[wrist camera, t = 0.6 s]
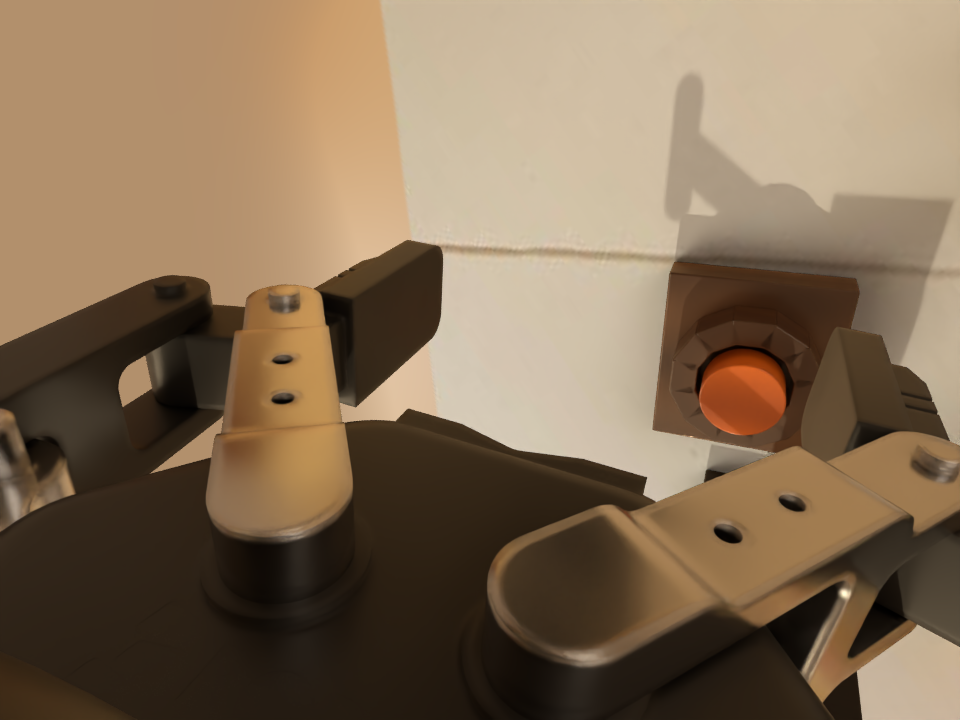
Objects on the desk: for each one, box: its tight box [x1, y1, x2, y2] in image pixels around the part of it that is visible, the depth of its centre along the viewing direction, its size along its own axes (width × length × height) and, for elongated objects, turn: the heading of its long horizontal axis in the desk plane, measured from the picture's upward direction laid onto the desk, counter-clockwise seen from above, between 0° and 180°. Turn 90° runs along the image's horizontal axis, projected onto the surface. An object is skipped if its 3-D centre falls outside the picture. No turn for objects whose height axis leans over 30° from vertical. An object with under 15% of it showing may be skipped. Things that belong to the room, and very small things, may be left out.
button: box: [699, 349, 786, 435], centre depth 30 cm, size 4×4×2 cm
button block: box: [653, 262, 860, 453], centre depth 31 cm, size 9×8×4 cm
